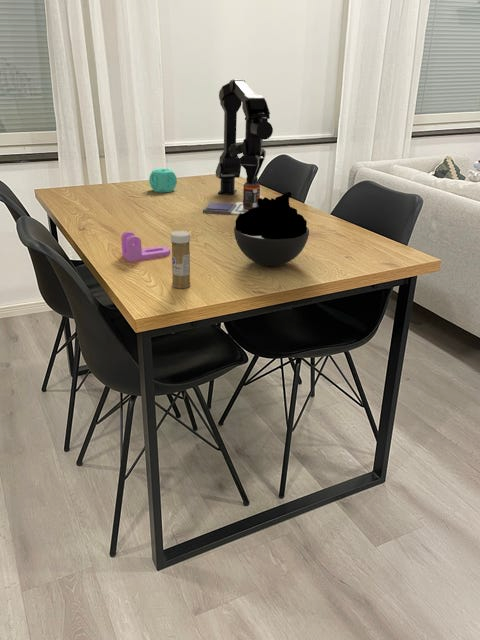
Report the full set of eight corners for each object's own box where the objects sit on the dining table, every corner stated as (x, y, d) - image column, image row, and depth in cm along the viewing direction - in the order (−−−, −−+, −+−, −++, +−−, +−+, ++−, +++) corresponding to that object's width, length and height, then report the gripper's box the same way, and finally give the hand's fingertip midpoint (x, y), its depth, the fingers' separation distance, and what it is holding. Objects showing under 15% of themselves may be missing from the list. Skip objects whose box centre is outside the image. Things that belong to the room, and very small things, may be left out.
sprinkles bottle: (168, 285, 143) (166, 232, 137) (182, 280, 146) (180, 229, 140) (181, 290, 140) (179, 237, 135) (194, 285, 144) (194, 233, 138)
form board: (236, 203, 219) (236, 201, 219) (273, 205, 217) (273, 204, 217) (227, 213, 205) (227, 212, 205) (267, 216, 203) (267, 215, 203)
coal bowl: (252, 281, 147) (254, 208, 139) (222, 256, 163) (222, 190, 155) (320, 271, 154) (326, 201, 146) (285, 249, 171) (289, 185, 163)
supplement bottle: (259, 210, 208) (260, 179, 204) (242, 210, 208) (243, 178, 204) (259, 206, 214) (260, 175, 209) (243, 206, 214) (243, 175, 209)
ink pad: (210, 205, 216) (210, 201, 215) (236, 206, 214) (236, 203, 214) (202, 212, 206) (202, 208, 206) (230, 214, 205) (230, 210, 204)
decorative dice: (177, 190, 237) (176, 170, 233) (162, 193, 231) (161, 173, 228) (164, 187, 241) (163, 167, 238) (149, 190, 236) (148, 170, 233)
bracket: (129, 262, 158) (127, 237, 155) (122, 256, 163) (120, 232, 160) (173, 255, 164) (172, 231, 161) (165, 249, 169) (164, 226, 166)
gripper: (236, 131, 210) (235, 174, 216) (225, 138, 193) (224, 185, 200) (266, 132, 208) (264, 176, 214) (258, 139, 191) (256, 187, 198)
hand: (252, 181), depth 207 cm, fingers open, 9 cm apart
